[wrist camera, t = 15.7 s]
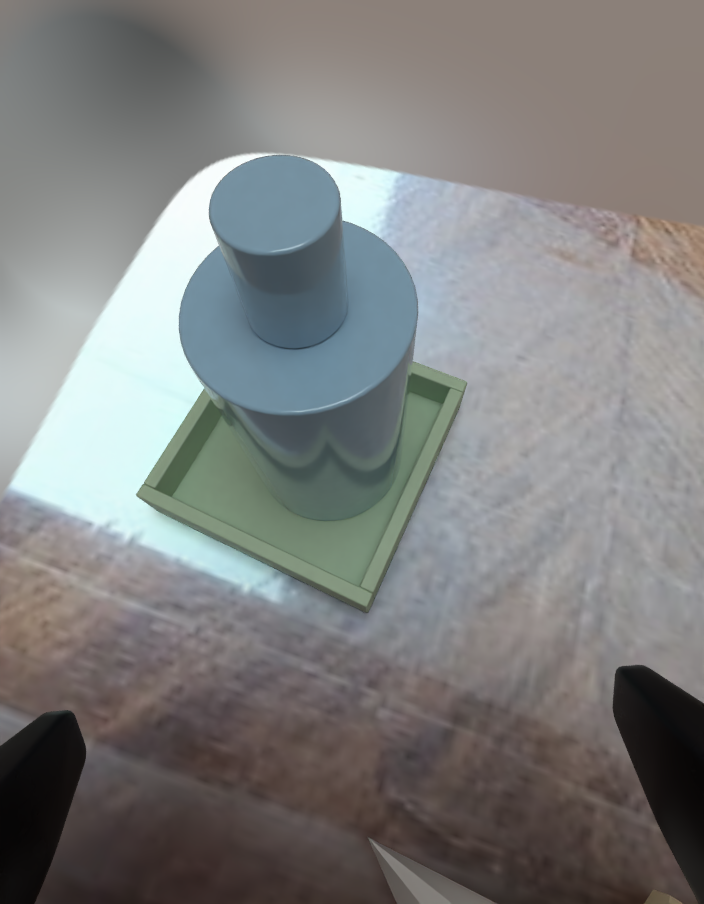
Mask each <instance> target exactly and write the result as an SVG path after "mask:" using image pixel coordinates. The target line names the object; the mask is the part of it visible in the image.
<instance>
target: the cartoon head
mask: <svg viewBox="0 0 704 904" xmlns="http://www.w3.org/2000/svg"><path fill="white" fill-rule="evenodd" d="M368 840H369V842H370V844H371V846H372V849H373V851H374V853H375V856H376V858H377V860H378V862H379V865H380V867H381V869H382V871H383V874H384V876H385V878H386V880H387V883H388V885H389V887H390V889H391V892H392V894H393V896H394V898H395V901H396V903H397V904H497V903H495V902H493V901H491V900H489V899H487V898H485V897H483V896H481V895H479V894H477V893H476V892H474V891H472V890H470V889H468V888H466V887H464V886H462V885H460V884H458V883H456V882H454V881H452V880H450V879H448V878H446V877H444V876H443V875H441V874H439V873H437V872H435V871H433V870H431V869H429V868H427V867H425V866H423V865H421V864H419V863H417V862H415V861H413V860H411V859H410V858H408V857H406V856H404V855H402V854H400V853H398V852H396V851H394V850H392V849H390V848H388V847H386V846H384V845H382V844H380V843H379V842H377V841H375V840H373V839H371V838H369V837H368ZM644 904H683V903H681V902H680V901H678V900H677V899H675V898H674V897H672V896H670V895H668V894H665V893H662V892H659V891H656V890H654V889H653V890H652V892H651V894H650V895H649V897H648V898H647V900H646V901H645V903H644Z"/></svg>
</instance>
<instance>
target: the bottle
mask: <svg viewBox="0 0 704 904" xmlns="http://www.w3.org/2000/svg"><path fill="white" fill-rule="evenodd" d="M209 219H210V223H211V226H212V228H213V231H214V234H215V236H216V239H217V242H218V244H219V246H218V247H217V248H216V249H215V250H213V251H212V252H211V253H210V254H209V255H208V256H207V257H206V258H205V259H204V261H203V262H202V263H201V264H200V265H199V266H198V268H197V269H196V271H195V272H194V274H193V276H192V277H191V279H190V281H189V283H188V285H187V287H186V289H185V292H184V295H183V298H182V301H181V307H180V313H179V334H180V340H181V345H182V348H183V351H184V354H185V356H186V358H187V360H188V362H189V364H190V366H191V368H192V370H193V371H194V373H195V374H196V376H197V378H198V379H199V381H200V382H201V384H202V386H203V387H204V389H205V390H206V392H207V394H208V395H209V397H210V398H211V400H212V402H213V403H214V405H215V406H216V408H217V410H218V411H219V413H220V414H221V416H222V418H223V419H224V421H225V423H226V424H227V426H228V427H229V429H230V431H231V432H232V434H233V435H234V437H235V439H236V440H237V442H238V443H239V445H240V447H241V448H242V450H243V451H244V453H245V455H246V456H247V458H248V459H249V461H250V463H251V464H252V466H253V467H254V469H255V471H256V472H257V474H258V475H259V477H260V479H261V480H262V482H263V483H264V485H265V487H266V488H267V490H268V491H269V493H270V494H271V495H272V497H273V498H274V499H275V500H276V501H277V502H278V503H279V504H281V505H282V506H283V507H284V508H286V509H287V510H289V511H291V512H293V513H294V514H297V515H299V516H302V517H304V518H308V519H312V520H319V521H336V520H343V519H347V518H351V517H353V516H356V515H358V514H361V513H363V512H365V511H366V510H368V509H370V508H371V507H373V506H374V505H375V504H377V503H378V502H379V501H380V500H381V499H382V498H383V497H384V496H385V495H386V494H387V492H388V491H389V490H390V488H391V487H392V485H393V483H394V482H395V480H396V477H397V475H398V473H399V469H400V465H401V459H402V450H403V442H404V433H405V424H406V415H407V407H408V398H409V389H410V381H411V372H412V363H413V354H414V346H415V337H416V328H417V319H418V299H417V294H416V289H415V285H414V283H413V280H412V277H411V275H410V273H409V271H408V269H407V268H406V266H405V264H404V262H403V261H402V260H401V259H400V257H399V256H398V255H397V253H396V252H395V251H394V250H393V249H392V248H391V247H390V246H389V245H388V244H387V243H386V242H384V241H383V240H382V239H380V238H379V237H378V236H376V235H375V234H373V233H371V232H369V231H368V230H366V229H364V228H362V227H359V226H357V225H355V224H352V223H349V222H346V221H342V210H341V198H340V192H339V189H338V187H337V185H336V183H335V181H334V180H333V178H332V177H331V176H330V174H329V173H328V172H327V171H326V170H325V169H323V168H322V167H321V166H319V165H318V164H316V163H314V162H312V161H310V160H307V159H304V158H301V157H297V156H290V155H272V156H265V157H260V158H256V159H253V160H250V161H248V162H246V163H243V164H241V165H240V166H238V167H236V168H235V169H233V170H232V171H230V172H229V173H228V174H227V175H226V176H224V177H223V179H222V180H221V181H220V182H219V183H218V185H217V186H216V188H215V190H214V192H213V194H212V196H211V199H210V205H209Z"/></svg>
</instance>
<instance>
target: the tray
mask: <svg viewBox="0 0 704 904" xmlns="http://www.w3.org/2000/svg"><path fill="white" fill-rule="evenodd" d="M466 385H467V382H466V381H464V380H461V379H458V378H456V377H453V376H450V375H448V374H445V373H442V372H440V371H437V370H434V369H432V368H429V367H426V366H424V365H421V364H419V363H416V362H413V363H412V372H411V381H410V389H409V398H408V407H407V415H406V424H405V433H404V442H403V450H402V459H401V465H400V469H399V473H398V475H397V477H396V480H395V482H394V483H393V485H392V487H391V488H390V490H389V491H388V492H387V494H386V495H385V496H384V497H383V498H382V499H381V500H380V501H379V502H378V503H377V504H375V505H374V506H373V507H371V508H370V509H368V510H366V511H365V512H363V513H361V514H358V515H356V516H353V517H351V518H347V519H343V520H336V521H319V520H312V519H308V518H304V517H302V516H299V515H297V514H294V513H293V512H291V511H289V510H287V509H286V508H284V507H283V506H282V505H281V504H279V503H278V502H277V501H276V500H275V499H274V498H273V497H272V495H271V494H270V493H269V491H268V490H267V488H266V487H265V485H264V483H263V482H262V480H261V479H260V477H259V475H258V474H257V472H256V471H255V469H254V467H253V466H252V464H251V463H250V461H249V459H248V458H247V456H246V455H245V453H244V451H243V450H242V448H241V447H240V445H239V443H238V442H237V440H236V439H235V437H234V435H233V434H232V432H231V431H230V429H229V427H228V426H227V424H226V423H225V421H224V419H223V418H222V416H221V414H220V413H219V411H218V410H217V408H216V406H215V405H214V403H213V402H212V400H211V398H210V397H209V395H208V394H207V392H206V390H205V389H204V390H203V391H202V393H201V394H200V396H199V398H198V399H197V401H196V402H195V404H194V405H193V407H192V408H191V410H190V412H189V413H188V415H187V416H186V418H185V419H184V421H183V422H182V424H181V426H180V427H179V429H178V430H177V432H176V433H175V435H174V436H173V438H172V440H171V441H170V443H169V444H168V446H167V447H166V449H165V451H164V452H163V454H162V455H161V457H160V458H159V460H158V461H157V463H156V465H155V466H154V468H153V469H152V471H151V472H150V474H149V475H148V477H147V479H146V480H145V482H144V484H143V485H142V486H141V488H140V489H139V491H138V493H137V494H136V496H137V497H139V498H140V499H141V500H143V501H144V502H146V503H147V504H148V505H150V506H151V507H153V508H154V509H156V510H157V511H158V512H160V513H162V514H164V515H166V516H169V517H171V518H173V519H175V520H177V521H179V522H181V523H183V524H185V525H187V526H189V527H191V528H193V529H195V530H197V531H199V532H201V533H203V534H205V535H208V536H210V537H212V538H214V539H216V540H218V541H220V542H222V543H224V544H226V545H228V546H230V547H232V548H234V549H236V550H238V551H240V552H242V553H244V554H246V555H249V556H251V557H253V558H255V559H257V560H259V561H261V562H263V563H265V564H267V565H269V566H271V567H273V568H275V569H277V570H279V571H281V572H283V573H285V574H288V575H290V576H292V577H294V578H296V579H298V580H300V581H302V582H304V583H306V584H308V585H310V586H312V587H314V588H316V589H318V590H320V591H322V592H324V593H326V594H329V595H331V596H333V597H335V598H337V599H339V600H341V601H343V602H345V603H347V604H349V605H351V606H353V607H355V608H357V609H359V610H361V611H363V612H365V613H368V612H369V610H370V608H371V605H372V603H373V601H374V599H375V596H376V594H377V592H378V590H379V587H380V585H381V583H382V581H383V578H384V576H385V574H386V572H387V569H388V567H389V565H390V563H391V560H392V558H393V556H394V554H395V551H396V549H397V547H398V545H399V542H400V540H401V538H402V536H403V533H404V531H405V529H406V527H407V524H408V522H409V520H410V518H411V515H412V513H413V511H414V509H415V506H416V504H417V502H418V500H419V497H420V495H421V493H422V491H423V488H424V486H425V484H426V482H427V479H428V477H429V475H430V473H431V470H432V468H433V466H434V464H435V461H436V459H437V457H438V455H439V452H440V450H441V448H442V446H443V443H444V441H445V439H446V437H447V434H448V432H449V430H450V428H451V425H452V423H453V421H454V419H455V416H456V414H457V412H458V410H459V407H460V404H461V401H462V398H463V395H464V392H465V388H466Z"/></svg>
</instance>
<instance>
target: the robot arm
mask: <svg viewBox="0 0 704 904" xmlns="http://www.w3.org/2000/svg"><path fill="white" fill-rule="evenodd" d="M613 713H614V718H615V721H616V724H617V726H618V729H619V731H620V734H621V736H622V738H623V741H624V743H625V746H626V748H627V751H628V753H629V756H630V758H631V761H632V763H633V765H634V768H635V770H636V773H637V775H638V778H639V780H640V783H641V785H642V788H643V790H644V792H645V795H646V797H647V800H648V802H649V805H650V807H651V809H652V812H653V814H654V816H655V819H656V821H657V823H658V825H659V827H660V829H661V831H662V833H663V835H664V837H665V839H666V841H667V843H668V845H669V847H670V849H671V851H672V853H673V855H674V857H675V859H676V860H677V862H678V864H679V866H680V868H681V870H682V872H683V874H684V876H685V878H686V880H687V882H688V883H689V885H690V887H691V889H692V891H693V893H694V895H695V897H696V899H697V901H698V903H699V904H704V703H702V702H701V701H699V700H698V699H696V698H695V697H693V696H692V695H690V694H688V693H687V692H685V691H684V690H682V689H681V688H679V687H678V686H676V685H675V684H673V683H671V682H670V681H668V680H667V679H665V678H664V677H662V676H661V675H659V674H657V673H656V672H654V671H653V670H651V669H650V668H648V667H646V666H644V665H632V666H621V667H619V668H618V669H617V670H616V673H615V682H614V695H613ZM85 759H86V746H85V743H84V740H83V737H82V734H81V731H80V728H79V725H78V723H77V720H76V717H75V715H74V713H72V712H71V711H68V710H63V711H51V712H46V713H44V714H42V715H41V716H40V717H38V718H37V719H36V720H34V721H33V722H32V723H30V724H29V725H28V726H26V727H25V728H24V729H22V730H21V731H20V732H18V733H17V734H16V735H14V736H13V737H12V738H10V739H9V740H8V741H7V742H5V743H4V744H3V745H1V746H0V904H34V903H35V901H36V899H37V896H38V894H39V892H40V889H41V887H42V885H43V882H44V880H45V877H46V875H47V872H48V870H49V868H50V865H51V862H52V860H53V857H54V854H55V851H56V848H57V846H58V843H59V840H60V837H61V833H62V830H63V827H64V824H65V821H66V818H67V815H68V812H69V809H70V806H71V803H72V800H73V797H74V794H75V791H76V788H77V785H78V782H79V779H80V776H81V773H82V769H83V766H84V763H85Z"/></svg>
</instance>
